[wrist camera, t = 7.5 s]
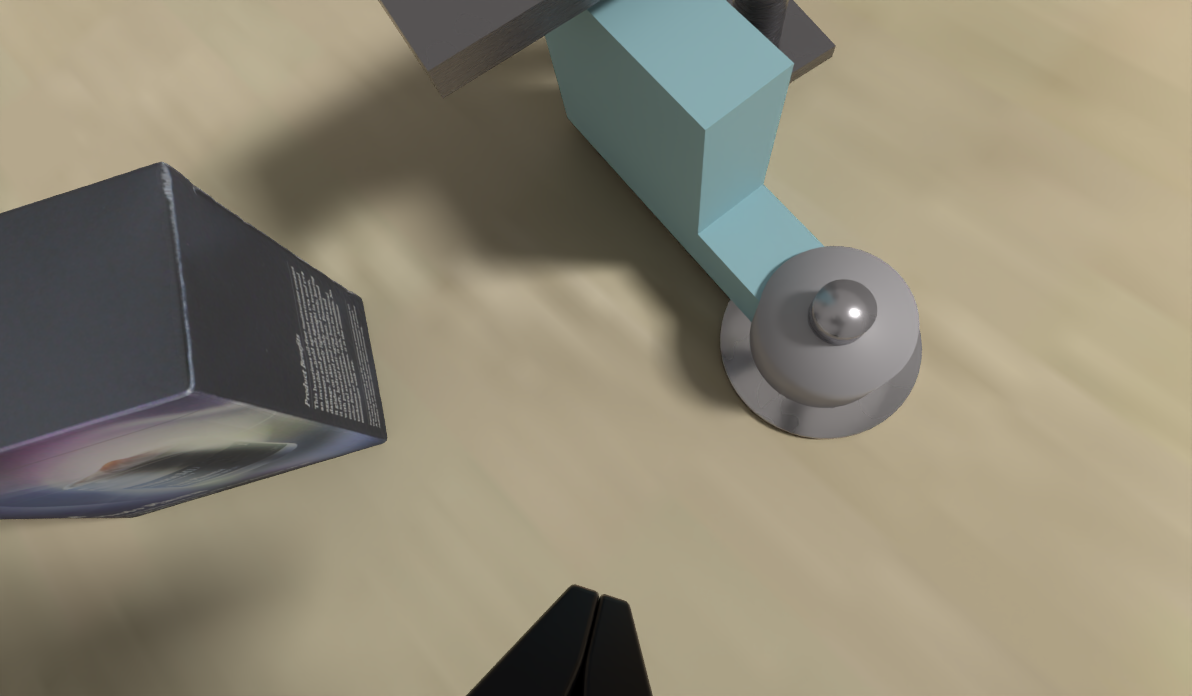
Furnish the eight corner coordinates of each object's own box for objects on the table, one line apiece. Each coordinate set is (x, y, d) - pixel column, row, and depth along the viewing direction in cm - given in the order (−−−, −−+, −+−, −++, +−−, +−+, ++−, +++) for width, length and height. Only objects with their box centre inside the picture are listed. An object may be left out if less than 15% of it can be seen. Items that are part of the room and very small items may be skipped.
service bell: (796, 477, 22) (821, 469, 18) (682, 318, 24) (683, 280, 20) (963, 368, 22) (1021, 338, 18) (836, 219, 24) (866, 163, 20)
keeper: (529, 253, 25) (427, 70, 15) (470, 163, 26) (340, -61, 16) (835, 59, 26) (939, -244, 15) (762, -19, 27) (814, -346, 17)
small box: (129, 531, 24) (-262, 541, 14) (117, 369, 26) (-237, 276, 16) (394, 450, 24) (186, 400, 14) (364, 291, 26) (160, 144, 15)
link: (923, 349, 22) (1065, 252, 14) (814, 436, 22) (895, 389, 14) (642, 62, 26) (626, -138, 18) (547, 132, 26) (489, -40, 18)
